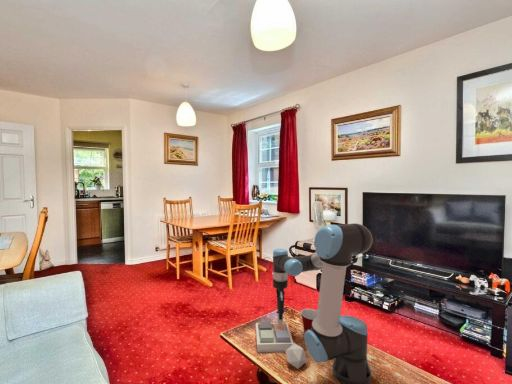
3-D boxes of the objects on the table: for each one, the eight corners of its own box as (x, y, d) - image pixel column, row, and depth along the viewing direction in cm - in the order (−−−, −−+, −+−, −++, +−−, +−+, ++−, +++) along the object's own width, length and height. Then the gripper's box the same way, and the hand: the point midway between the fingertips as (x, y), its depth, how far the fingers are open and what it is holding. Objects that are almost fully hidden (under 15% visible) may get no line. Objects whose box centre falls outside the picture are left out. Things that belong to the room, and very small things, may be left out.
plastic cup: (319, 343, 141) (319, 319, 140) (298, 338, 145) (298, 315, 144) (323, 332, 150) (323, 310, 150) (303, 328, 155) (303, 306, 154)
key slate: (289, 342, 135) (289, 337, 135) (276, 342, 135) (276, 337, 135) (287, 334, 142) (287, 329, 142) (275, 334, 142) (275, 329, 142)
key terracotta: (286, 335, 144) (286, 330, 144) (274, 335, 144) (274, 330, 144) (284, 328, 151) (284, 323, 151) (273, 328, 151) (273, 323, 151)
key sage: (273, 342, 135) (273, 337, 135) (260, 343, 134) (260, 337, 134) (272, 335, 142) (272, 329, 142) (260, 335, 141) (260, 330, 141)
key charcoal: (271, 332, 144) (271, 327, 144) (259, 333, 143) (259, 328, 143) (270, 325, 151) (270, 321, 151) (259, 325, 150) (259, 321, 150)
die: (310, 368, 123) (306, 342, 129) (303, 367, 116) (299, 340, 122) (293, 370, 126) (289, 344, 132) (284, 370, 119) (281, 343, 125)
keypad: (293, 352, 133) (293, 343, 133) (257, 352, 132) (257, 344, 132) (287, 329, 153) (287, 322, 153) (255, 330, 152) (255, 323, 152)
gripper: (271, 275, 153) (271, 318, 153) (274, 283, 140) (274, 331, 140) (285, 275, 153) (285, 318, 154) (289, 283, 140) (289, 330, 140)
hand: (280, 324), depth 147 cm, fingers closed
